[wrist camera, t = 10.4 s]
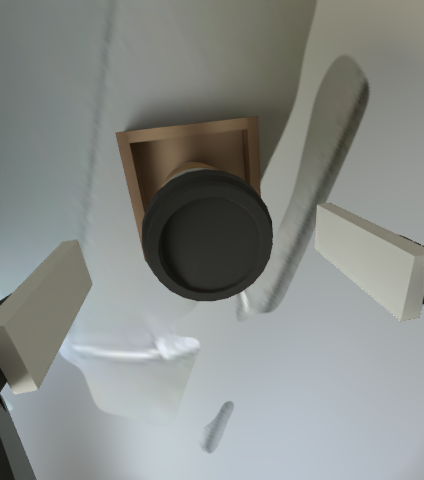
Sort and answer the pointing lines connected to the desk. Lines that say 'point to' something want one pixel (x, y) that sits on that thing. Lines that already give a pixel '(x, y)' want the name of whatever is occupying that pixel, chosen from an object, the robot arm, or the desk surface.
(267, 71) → the desk surface
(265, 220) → the coffee cup
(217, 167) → the tray
